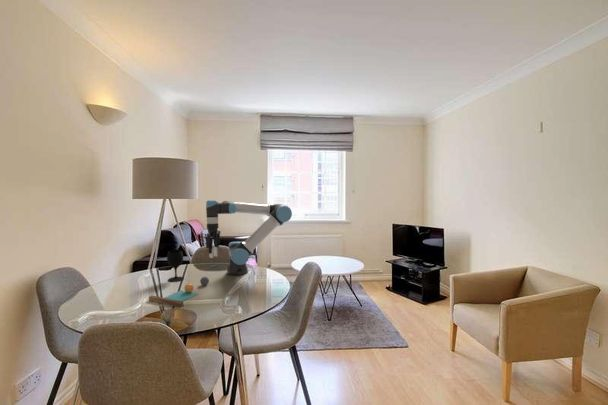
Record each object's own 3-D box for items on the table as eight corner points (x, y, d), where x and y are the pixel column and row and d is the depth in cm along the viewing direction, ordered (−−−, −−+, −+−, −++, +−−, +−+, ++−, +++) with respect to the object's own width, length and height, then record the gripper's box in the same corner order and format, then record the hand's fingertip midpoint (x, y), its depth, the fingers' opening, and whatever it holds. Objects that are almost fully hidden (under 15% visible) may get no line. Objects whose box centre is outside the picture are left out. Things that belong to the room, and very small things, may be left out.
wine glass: (178, 282, 210) (177, 253, 209) (164, 281, 213) (163, 252, 211) (187, 277, 221) (186, 249, 219) (173, 276, 223) (172, 249, 221)
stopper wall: (152, 299, 182) (151, 295, 182) (183, 306, 172) (183, 301, 172) (149, 300, 180) (148, 296, 180) (180, 307, 171) (180, 303, 170)
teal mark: (180, 290, 195) (180, 290, 195) (198, 294, 190) (198, 293, 190) (162, 298, 183) (162, 298, 183) (180, 302, 177) (180, 302, 177)
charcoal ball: (204, 283, 209) (204, 275, 209) (210, 284, 207) (210, 276, 206) (198, 285, 204) (198, 277, 204) (205, 286, 202) (204, 278, 201)
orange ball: (189, 290, 196) (188, 281, 196) (195, 291, 194) (195, 282, 194) (182, 293, 191) (182, 284, 191) (189, 294, 189) (189, 285, 189)
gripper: (216, 221, 220) (217, 253, 222) (199, 224, 204) (200, 259, 206) (224, 221, 217) (225, 254, 219) (208, 225, 202) (209, 260, 204)
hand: (213, 256), depth 213 cm, fingers open, 4 cm apart
